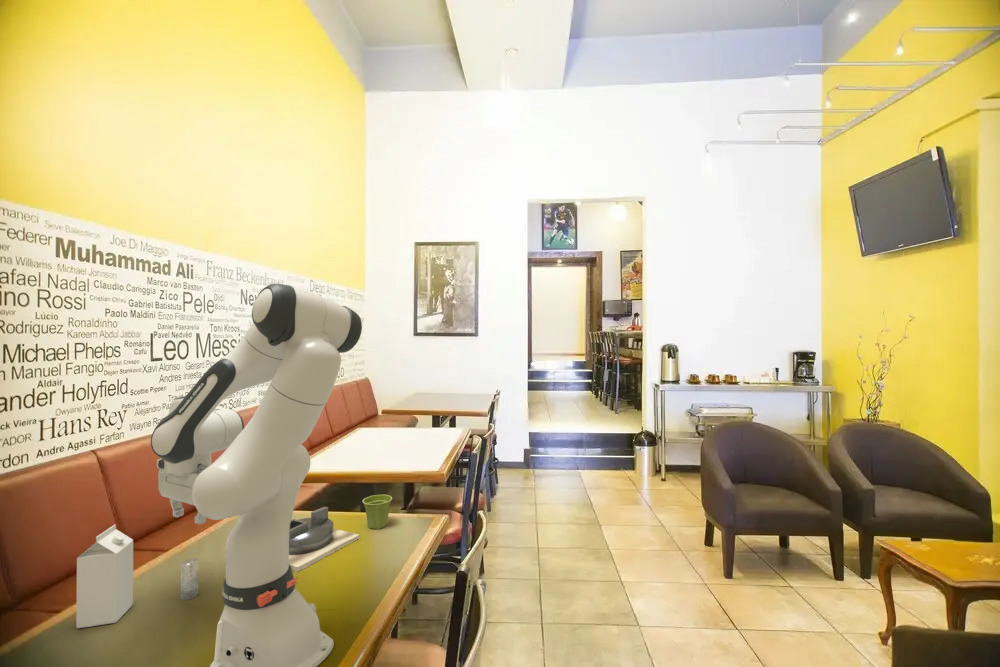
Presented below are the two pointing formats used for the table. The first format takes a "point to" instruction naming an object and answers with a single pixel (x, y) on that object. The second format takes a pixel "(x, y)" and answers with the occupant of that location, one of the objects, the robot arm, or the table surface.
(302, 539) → the grey disc with tab
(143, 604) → the table surface
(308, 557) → the board
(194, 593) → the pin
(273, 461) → the robot arm
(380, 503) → the plant pot
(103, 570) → the milk carton
